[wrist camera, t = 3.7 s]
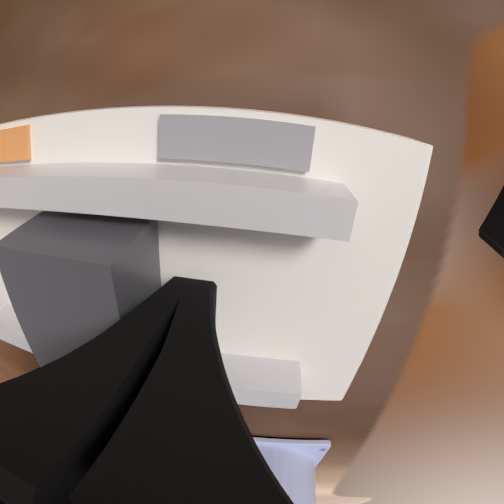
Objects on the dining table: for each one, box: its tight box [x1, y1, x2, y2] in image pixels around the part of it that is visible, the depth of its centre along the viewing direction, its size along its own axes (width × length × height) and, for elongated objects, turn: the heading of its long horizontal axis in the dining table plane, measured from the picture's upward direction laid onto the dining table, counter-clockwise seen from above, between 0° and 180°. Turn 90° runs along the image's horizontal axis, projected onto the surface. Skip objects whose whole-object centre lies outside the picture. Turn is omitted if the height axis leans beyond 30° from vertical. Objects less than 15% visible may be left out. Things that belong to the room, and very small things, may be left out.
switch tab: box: [0, 211, 161, 367], centre depth 8 cm, size 5×4×3 cm
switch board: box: [0, 106, 433, 409], centre depth 10 cm, size 11×18×4 cm, turn 85°
